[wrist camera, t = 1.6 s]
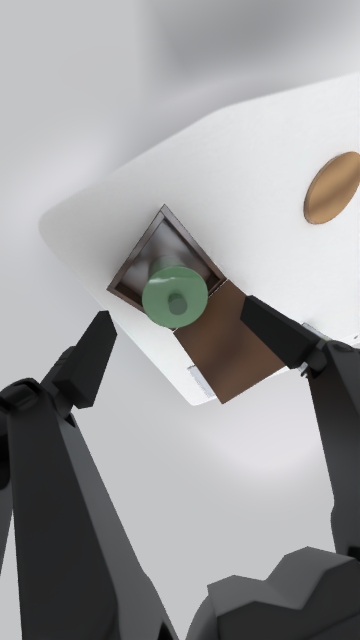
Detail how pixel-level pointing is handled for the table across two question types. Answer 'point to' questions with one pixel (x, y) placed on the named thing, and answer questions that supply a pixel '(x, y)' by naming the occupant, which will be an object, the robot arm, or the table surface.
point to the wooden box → (158, 241)
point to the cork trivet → (332, 188)
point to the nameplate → (201, 381)
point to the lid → (227, 346)
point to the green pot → (173, 292)
